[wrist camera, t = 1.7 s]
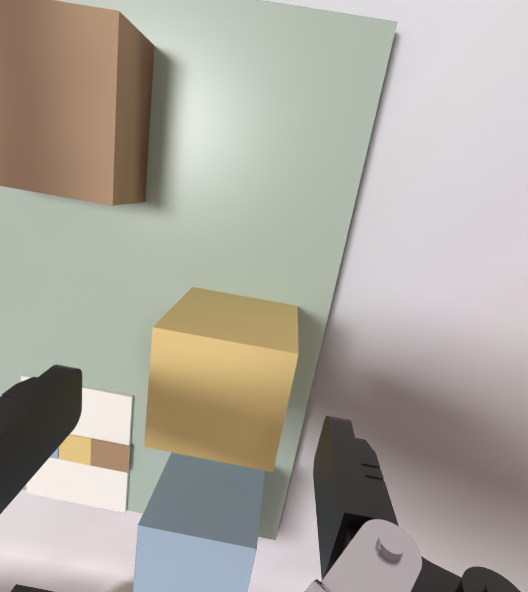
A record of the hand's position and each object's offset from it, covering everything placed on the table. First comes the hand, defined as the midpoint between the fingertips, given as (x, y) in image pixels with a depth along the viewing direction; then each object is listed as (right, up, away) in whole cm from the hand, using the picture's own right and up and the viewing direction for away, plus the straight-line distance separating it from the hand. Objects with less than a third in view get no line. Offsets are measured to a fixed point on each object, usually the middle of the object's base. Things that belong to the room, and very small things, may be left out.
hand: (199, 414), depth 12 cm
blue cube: (-1, -7, +9) cm, 11 cm away
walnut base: (-6, +11, +3) cm, 13 cm away
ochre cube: (+1, +2, +6) cm, 6 cm away
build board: (-4, +4, +7) cm, 8 cm away
